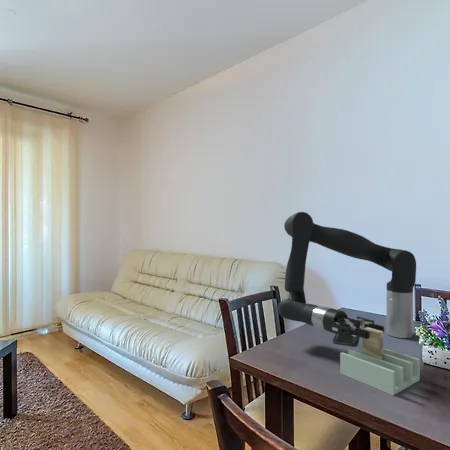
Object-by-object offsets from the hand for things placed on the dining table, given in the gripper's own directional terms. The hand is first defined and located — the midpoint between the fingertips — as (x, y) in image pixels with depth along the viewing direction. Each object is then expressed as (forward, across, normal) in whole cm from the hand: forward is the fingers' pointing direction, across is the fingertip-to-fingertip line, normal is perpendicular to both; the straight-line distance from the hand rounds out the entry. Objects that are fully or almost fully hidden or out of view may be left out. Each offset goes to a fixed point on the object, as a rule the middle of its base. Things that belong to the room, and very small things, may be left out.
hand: (376, 332), depth 100 cm
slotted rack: (+1, 0, +12) cm, 13 cm away
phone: (-24, +20, +13) cm, 34 cm away
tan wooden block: (-1, 0, +12) cm, 12 cm away
